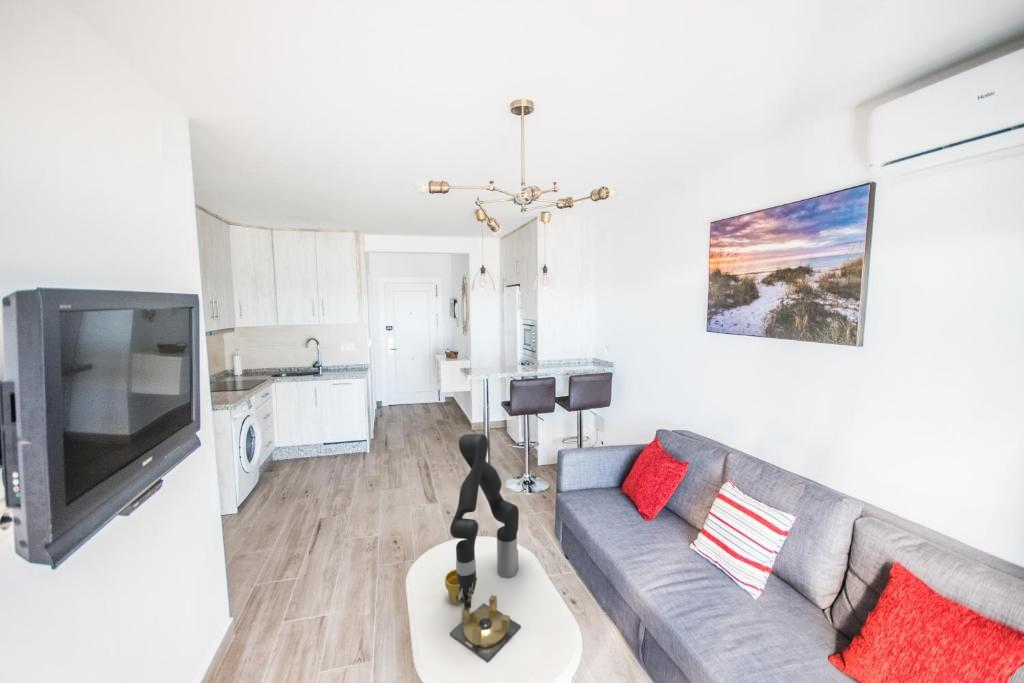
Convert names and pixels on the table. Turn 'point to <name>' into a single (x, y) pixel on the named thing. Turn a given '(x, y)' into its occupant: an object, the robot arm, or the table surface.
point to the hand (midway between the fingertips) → (467, 608)
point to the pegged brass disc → (485, 624)
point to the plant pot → (452, 586)
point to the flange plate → (484, 652)
